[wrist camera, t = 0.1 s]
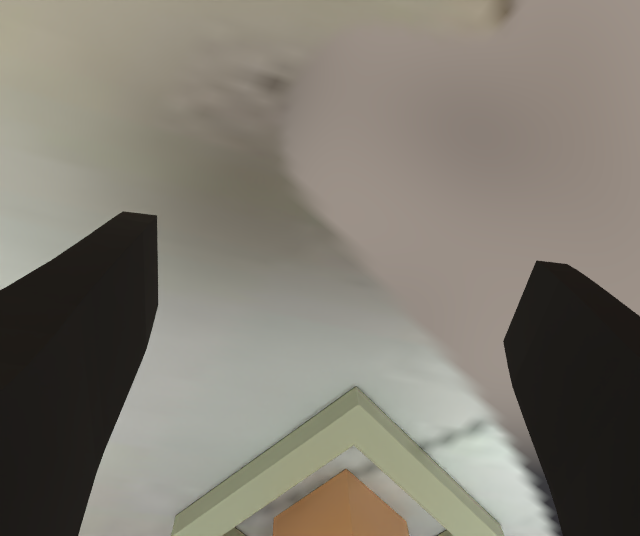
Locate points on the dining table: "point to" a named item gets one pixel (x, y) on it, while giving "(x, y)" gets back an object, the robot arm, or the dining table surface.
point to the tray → (319, 449)
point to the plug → (340, 512)
